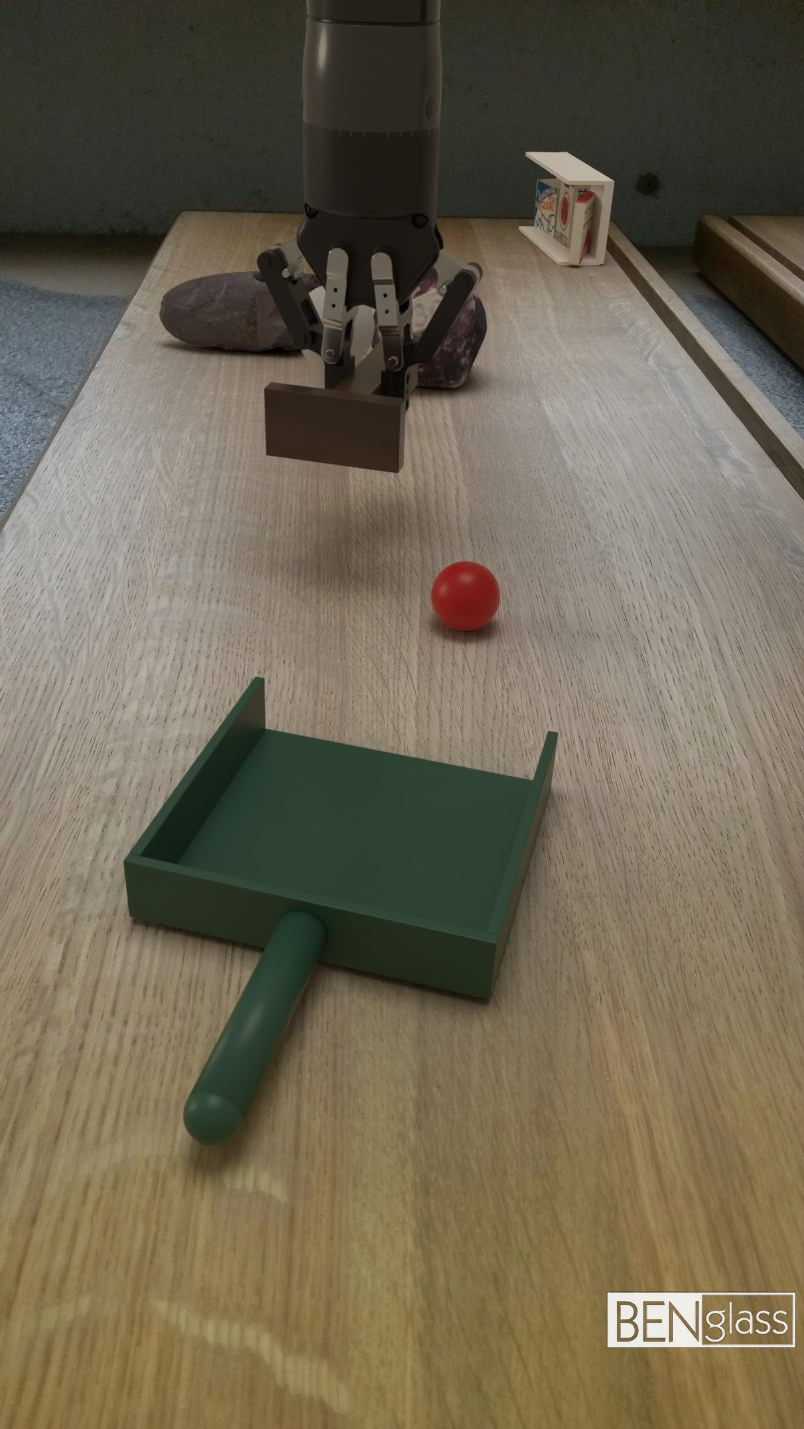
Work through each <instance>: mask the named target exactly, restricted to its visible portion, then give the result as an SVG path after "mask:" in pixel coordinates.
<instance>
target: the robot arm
mask: <svg viewBox="0 0 804 1429" xmlns="http://www.w3.org/2000/svg"><path fill="white" fill-rule="evenodd" d="M305 3H306V15H307V17H306V22H305V23H306V24H305V26H306V27H305V38H304V47H303V55H302V74H301V75H302V76H301V78H302V83H301V84H302V86H301V89H300V109H301V111H302V170H303V171H302V174H303V177H302V178H303V182H302V184H303V207H304V208H303V209H304V210H303V216H302V220H301V222H300V223H299V226H298V227H297V230H296V234H295V238H293V239H291V240H288V241H286V242H283V243H282V242H279V243H276V244H273V245H271V246H269V247H267V248H266V249H265V250H263V252H261V253H259V254H258V256H257V258H256V265H257V269H258V271H260V272H261V274H262V277H263V279H264V281H265V283H266V285H267V287H268V289H269V292H270V294H271V296H272V298H273V300H274V302H275V304H276V306H277V309H278V311H279V313H280V315H281V317H282V319H283V321H284V323H285V326H286V328H287V330H288V332H289V334H290V336H291V338H292V341H293V343H294V345H295V346H296V347H297V348H298V349H297V350H300V351H302V350H307V349H309V350H311V351H313V352H315V353H317V354H318V355H320V356H321V358H322V359H323V361H324V365H325V389H331V390H333V389H334V388H335V387H336V386H337V385H338V384H339V383H340V382H341V381H342V380H343V379H344V378H345V377H346V376H347V375H348V374H349V373H350V372H351V371H352V370H353V369H354V368H355V356H352V355H350V348H351V346H352V340H353V332H354V325H355V318H356V315H357V313H358V309H359V305H366V306H368V307H370V308H371V309H373V310H377V320H378V328H379V331H380V332H381V336H382V347H383V358H384V364H385V367H384V368H383V369H382V370H381V384H382V389H381V396H388V397H396V398H404V399H406V414H407V413H408V411H409V408H410V404H411V393H410V381H411V366H412V365H415V364H419V363H421V364H427V363H429V362H430V361H431V360H432V359H433V358H434V356H435V355H436V354H437V353H438V352H439V350H440V349H441V348H442V346H443V344H444V343H445V341H446V339H447V337H448V336H449V334H450V332H451V330H452V329H453V327H454V325H455V324H456V322H457V320H458V318H459V317H460V315H461V313H462V311H463V310H464V308H465V306H466V304H467V303H468V301H469V299H470V298H471V296H472V294H473V292H474V291H476V289H477V288H478V285H479V284H480V282H481V280H482V278H483V276H484V273H483V268H482V267H481V265H480V264H479V263H477V262H476V261H475V262H474V261H470V262H467V263H466V262H464V261H462V260H461V259H459V258H458V257H457V256H455V255H453V253H450V252H449V251H447V250H446V249H445V248H444V247H445V244H444V238H443V237H442V233H441V231H440V230H439V226H438V220H437V208H438V188H439V187H438V186H439V166H440V143H441V141H440V140H441V122H442V121H441V119H442V101H443V100H442V99H443V81H444V80H443V76H444V75H443V73H444V71H443V70H444V68H443V67H444V66H443V53H442V40H441V39H442V38H441V23H440V20H441V19H442V18H441V17H442V0H306V2H305ZM303 258H304V259H305V261H306V263H307V264H308V265H309V268H310V269H311V271H312V272H313V274H315V275H316V277H317V278H318V280H319V281H320V283H321V285H322V286H323V288H324V289H325V300H324V309H323V318H322V320H323V323H324V326H323V323H322V321H321V319H320V317H319V315H318V313H317V310H316V308H315V306H314V304H313V302H312V299H311V297H310V295H309V293H308V291H307V288H306V286H305V284H304V282H303V280H302V277H301V275H302V274H303V273H305V264H304V259H303ZM432 268H434V269H435V270H436V271H437V274H438V280H437V283H436V291H437V293H438V294H439V295H440V296H441V297H443V298H442V300H441V302H440V304H439V306H438V307H437V309H436V311H435V313H434V314H433V316H432V318H431V320H430V322H429V323H428V325H427V327H426V329H425V330H424V332H423V334H422V336H421V337H417V338H413V335H412V318H413V305H412V294H413V292H414V291H415V290H416V289H417V287H418V286H419V285H420V283H421V282H422V281H423V280H424V278H425V277H426V276H427V274H428V273H429V272H430V271H431V269H432Z"/></svg>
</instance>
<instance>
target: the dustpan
mask: <svg viewBox="0 0 804 1429" xmlns="http://www.w3.org/2000/svg"><path fill="white" fill-rule="evenodd" d="M265 684H266V683H265V678H264V677H262V676H254V677H253V679H252V681H251V682H250V683H249V685H248V686H247V687H246V689H245V691H244V692H243V693H242V694H241V696H240V697H239V698H238V700H237V701H236V703H235V704H234V705H233V707H232V709H230V711H229V712H228V714H227V715H226V717H225V718H224V720H223V721H222V722H221V724H220V725H219V727H218V728H217V729H216V731H215V732H214V734H213V735H212V736H211V738H210V739H209V740H208V742H207V743H206V744H205V746H204V747H203V749H202V750H201V752H199V753H198V756H197V757H196V759H195V760H194V761H193V762H192V764H191V765H190V767H189V769H188V770H187V771H186V773H185V774H184V775H183V776H182V778H181V780H180V781H179V782H178V783H177V785H176V787H175V788H174V789H173V791H172V792H171V794H170V795H169V796H168V797H167V799H166V800H165V802H164V803H163V804H162V806H161V807H160V809H159V810H158V812H157V813H156V815H155V816H154V817H153V818H152V820H151V821H150V823H149V824H148V826H147V827H146V828H145V830H144V831H143V833H142V834H141V835H140V837H139V838H138V839H137V841H136V842H135V844H134V845H133V846H132V848H131V849H130V851H129V852H128V854H127V855H126V856H125V858H123V871H124V880H125V889H126V890H125V891H126V899H127V907H128V916H129V918H134V919H137V920H143V921H146V922H149V923H150V922H151V923H155V924H160V925H164V926H168V927H172V928H177V929H181V930H187V931H190V932H195V933H199V934H203V935H207V936H211V937H216V938H221V939H224V940H227V941H228V940H229V941H233V942H238V943H242V944H246V945H250V946H255V947H258V948H263V949H264V950H263V952H262V954H261V956H260V958H259V960H258V961H257V964H256V965H255V967H254V969H253V970H252V973H251V975H250V978H249V979H248V981H247V983H246V985H245V986H244V989H243V990H242V992H241V994H240V996H239V998H238V1000H237V1002H236V1004H235V1006H234V1008H233V1010H232V1012H231V1014H230V1015H229V1018H228V1020H227V1021H226V1023H225V1025H224V1027H223V1029H222V1031H221V1033H220V1035H219V1037H218V1039H217V1041H216V1043H215V1044H214V1046H213V1049H212V1050H211V1051H210V1052H211V1053H210V1054H209V1056H208V1057H207V1060H206V1062H205V1063H204V1065H203V1067H202V1069H201V1072H200V1074H199V1075H198V1077H197V1080H196V1081H195V1083H194V1085H193V1087H192V1088H191V1091H190V1092H189V1095H188V1097H187V1098H186V1100H185V1104H184V1107H183V1112H182V1120H183V1125H184V1128H185V1130H186V1132H187V1133H188V1135H189V1136H190V1137H191V1138H192V1139H193V1140H194V1141H195V1142H197V1143H198V1144H201V1145H203V1146H207V1147H217V1146H221V1145H224V1144H226V1143H228V1142H230V1141H232V1140H233V1139H234V1138H235V1136H237V1135H238V1134H239V1132H240V1130H241V1129H242V1128H243V1124H244V1123H245V1122H246V1121H245V1120H246V1118H247V1117H248V1114H249V1112H250V1109H251V1108H252V1105H253V1103H254V1101H255V1100H256V1096H257V1094H258V1093H259V1090H260V1088H261V1086H262V1083H263V1082H264V1079H265V1077H266V1075H267V1073H268V1070H269V1068H270V1067H271V1064H272V1062H273V1060H274V1058H275V1056H276V1053H277V1051H278V1049H279V1047H280V1045H281V1042H282V1040H283V1037H284V1036H285V1033H286V1031H287V1030H288V1027H289V1026H290V1022H291V1021H292V1018H293V1016H294V1014H295V1012H296V1009H297V1008H298V1006H299V1004H300V1001H301V999H302V997H303V995H304V992H305V990H306V988H307V986H308V984H309V981H310V979H311V977H312V975H313V973H314V970H315V968H316V966H317V964H318V962H319V961H320V962H325V963H328V964H333V965H337V966H342V967H345V968H350V969H354V970H359V971H363V972H368V973H372V974H375V975H381V976H385V977H389V978H393V979H398V980H401V981H402V980H403V981H405V982H411V983H415V984H419V985H424V986H428V987H433V988H435V989H441V990H445V991H450V992H453V993H458V994H463V995H467V996H471V997H475V998H479V999H484V1000H489V1001H490V1000H491V998H492V997H493V994H494V990H495V987H496V984H497V981H498V978H499V977H498V976H499V974H500V969H501V967H502V963H503V959H504V955H505V953H506V952H505V951H506V948H507V944H508V941H509V938H510V934H511V931H512V927H513V923H514V920H515V917H516V912H517V909H518V905H519V902H520V899H521V896H522V892H523V888H524V885H525V882H526V879H527V878H526V877H527V874H528V871H529V867H530V864H531V860H532V857H533V853H534V849H535V846H536V842H537V838H538V835H539V832H540V828H541V824H542V821H543V818H544V814H545V810H546V807H547V804H548V800H549V796H550V793H551V790H552V781H553V777H554V776H553V775H554V768H555V763H556V762H555V761H556V755H557V747H558V739H559V732H558V731H552V730H547V733H546V736H545V740H544V742H543V746H542V748H541V753H540V756H539V759H538V761H537V765H536V769H535V772H534V776H533V779H529V778H523V777H518V776H513V775H507V774H504V773H498V772H493V771H487V770H482V769H477V768H473V767H472V768H471V767H466V766H463V765H462V766H461V765H456V764H452V763H446V762H441V761H436V760H430V759H424V758H420V757H415V756H409V755H405V754H399V753H395V752H389V751H384V750H379V749H375V748H374V749H373V748H368V747H363V746H358V745H353V744H348V743H342V742H337V741H332V740H327V739H323V738H317V737H312V736H307V735H303V734H302V735H301V734H296V733H291V732H286V731H282V730H281V731H280V730H275V729H271V728H267V726H266V725H267V724H266V685H265Z"/></svg>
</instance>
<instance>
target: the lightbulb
mask: <svg viewBox="0 0 804 1429" xmlns="http://www.w3.org/2000/svg"><path fill="white" fill-rule="evenodd" d="M309 295H310V297H311V299H312V302H313V304H314V306H315V308H316V310H317V313H318V315H319V317H320V319H321V321H322V323H323V320H322V318H323V309H324V300H325V289H324V288H323V286H320V287H318V288H316V289H314V290H313V291H311V292H310V293H309ZM373 315H374V313H373V311H372V308H371V307H368V306H366V305H359V309H358V313H357V315H356V318H355V325H354V332H353V340H352V346H351V348H350V355H352V356H355V367H356V366H357V365H358V364H359V363H360V362H361V361H362V360H363V359H364V358H365V357H366V355H367V354H368V352H369V348H370V346H371V343H372V339H373V335H374V317H373ZM323 326H324V323H323ZM301 353H302V354H303V356H304V358H305V359H306V361H307V364H308V366H309V369H310V372H311V378H312V387H315V388H323V389H325V365H324V361H323V359H322V358H321V356H320V355H318V354H317V353H315V352H313V351H311V350H309V349H307V350H301Z"/></svg>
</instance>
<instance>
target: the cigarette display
mask: <svg viewBox="0 0 804 1429" xmlns="http://www.w3.org/2000/svg"><path fill="white" fill-rule="evenodd" d="M525 157H526V158H527V159H528V158H529V160H531V161H533V162H534V163H535V164H537V165H538V166H539V167H542V168H543V169H544V170H546V171H547V172H549V173H550V174H551V175H553V176H554V177H556V178H541V179H537V180H536V192H535V193H536V194H535V203H534V204H535V205H534V216H533V217H534V221H533V226H532V225H530V226H529V225H527V226H525V225H523V226H521V225H519V226H518V231H519V232H521V233H522V235H524V236H525V237H526V238H527V239H529V241H531V242H532V244H534V245H535V246H536V247H537V248H538V249H540V251H542V252H543V253H544V254H545V255H547V257H549V258H550V259H551V260H552V261H553V262H554V263H555V264H557V265H558V266H559V267H561V266H562V267H563V266H565V267H568V266H573V267H575V266H577V267H578V266H583V267H584V266H600V265H604V264H605V258H606V252H607V250H606V249H607V243H608V235H609V226H610V220H611V210H612V203H613V197H614V196H613V195H614V189H615V188H614V187H615V180H613V179H611V178H610V177H609V176H606V175H605V174H603V173H602V172H600V171H599V170H596V169H595V168H593V167H592V166H590V165H589V164H587V163H585V162H584V161H582V160H581V159H579V158H578V157H576V156H574V155H572V154H570V153H569V152H568V151H559V152H555V151H551V152H549V151H525Z"/></svg>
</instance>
